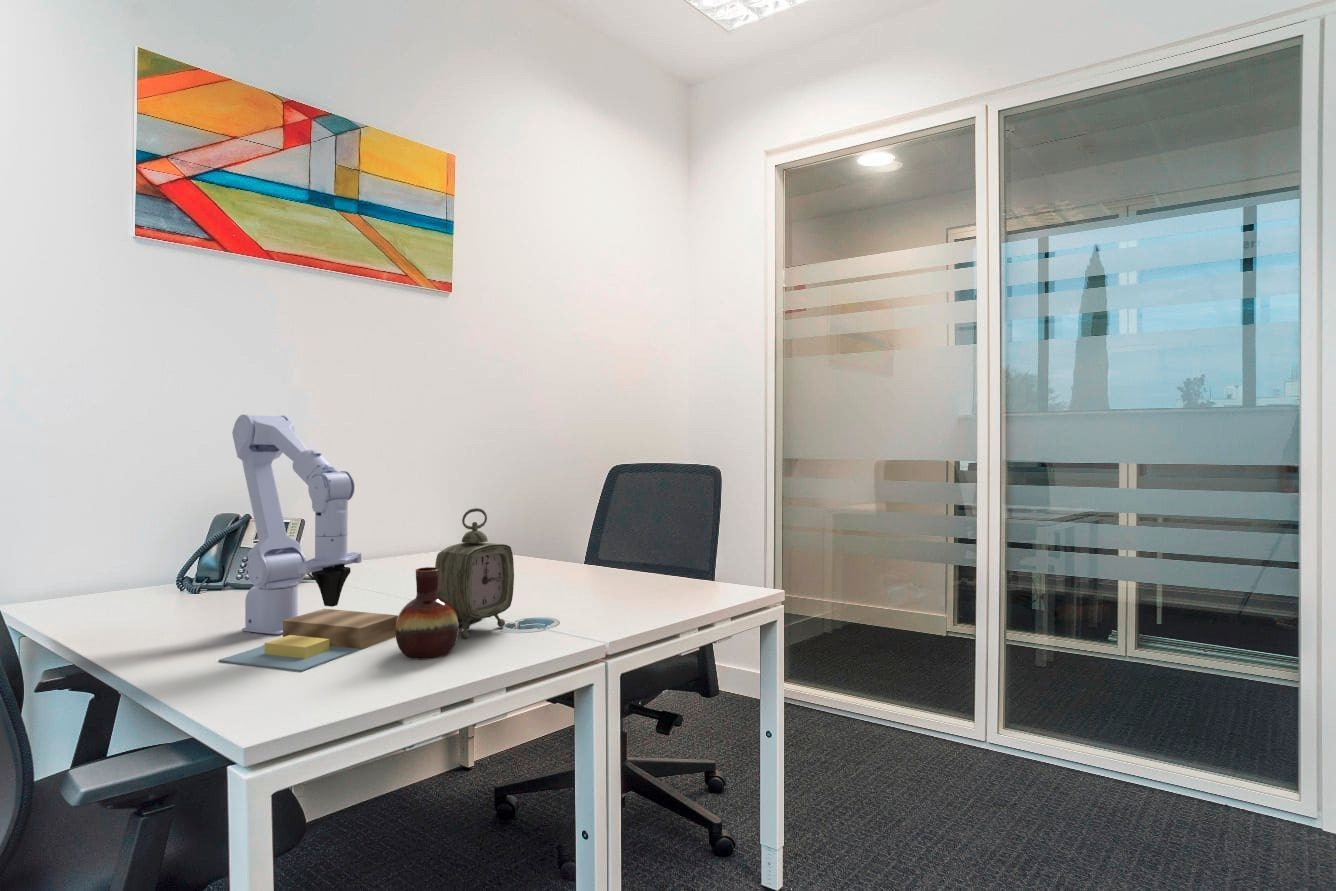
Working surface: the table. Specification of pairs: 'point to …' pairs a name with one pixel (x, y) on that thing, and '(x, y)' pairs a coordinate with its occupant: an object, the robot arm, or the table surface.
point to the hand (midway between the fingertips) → (330, 605)
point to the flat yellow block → (297, 646)
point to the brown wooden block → (343, 627)
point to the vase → (426, 620)
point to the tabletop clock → (476, 576)
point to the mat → (286, 659)
